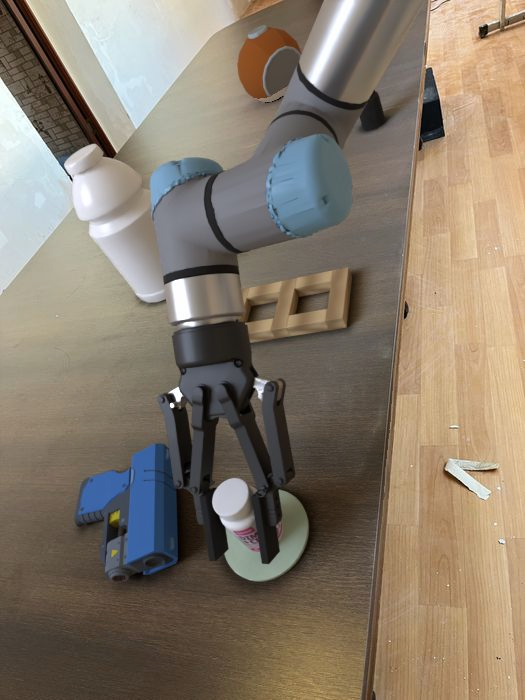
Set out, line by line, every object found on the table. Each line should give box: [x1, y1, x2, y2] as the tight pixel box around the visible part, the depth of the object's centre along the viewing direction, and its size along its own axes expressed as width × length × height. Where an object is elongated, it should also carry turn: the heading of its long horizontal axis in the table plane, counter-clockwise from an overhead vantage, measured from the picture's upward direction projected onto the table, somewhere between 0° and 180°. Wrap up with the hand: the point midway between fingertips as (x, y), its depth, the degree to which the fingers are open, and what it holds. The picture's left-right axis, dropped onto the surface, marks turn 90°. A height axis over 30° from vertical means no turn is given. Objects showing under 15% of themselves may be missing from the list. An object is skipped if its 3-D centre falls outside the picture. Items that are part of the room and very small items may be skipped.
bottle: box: [63, 143, 166, 304], centre depth 90 cm, size 14×14×28 cm
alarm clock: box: [236, 24, 302, 99], centre depth 141 cm, size 19×18×17 cm
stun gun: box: [73, 443, 179, 583], centre depth 61 cm, size 4×16×15 cm
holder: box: [240, 266, 353, 344], centre depth 76 cm, size 20×11×2 cm, turn 79°
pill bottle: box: [212, 477, 283, 552], centre depth 50 cm, size 5×5×8 cm
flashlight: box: [359, 89, 386, 131], centre depth 100 cm, size 5×24×5 cm
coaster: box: [223, 489, 310, 583], centre depth 53 cm, size 10×10×1 cm
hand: (244, 555), depth 49 cm, fingers open, 5 cm apart
